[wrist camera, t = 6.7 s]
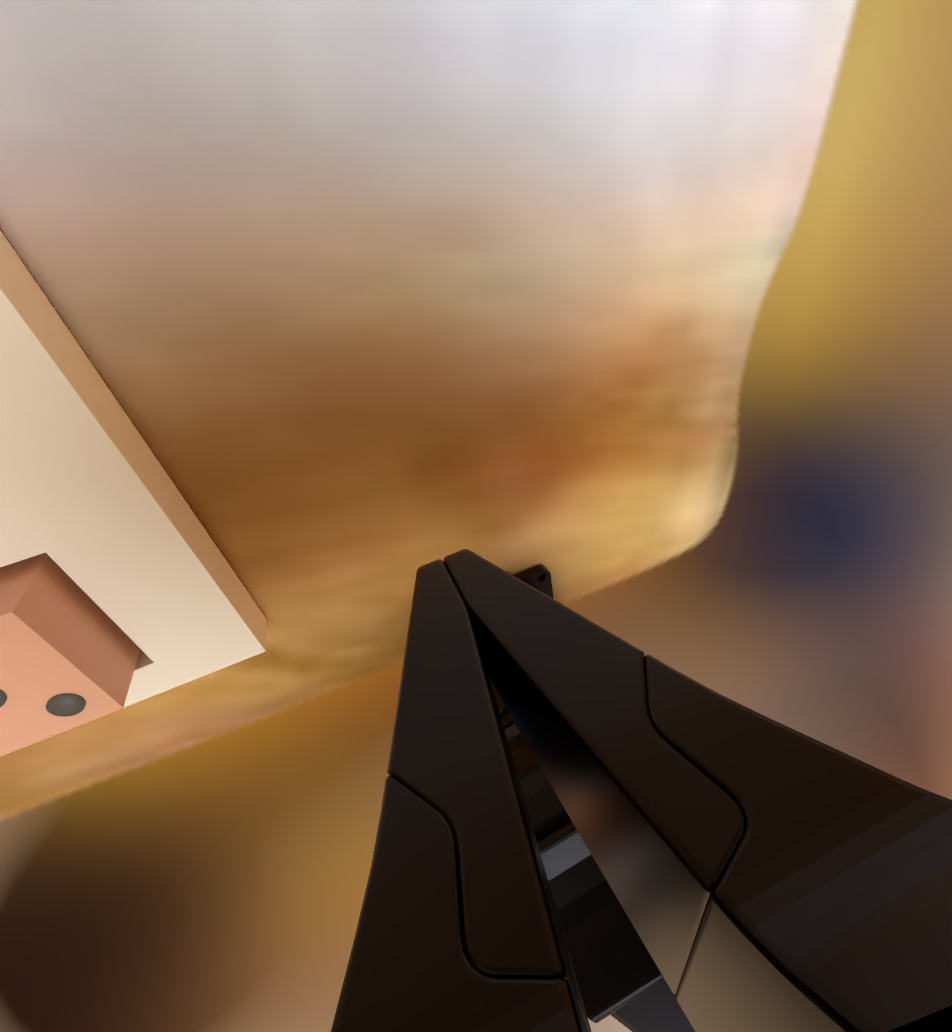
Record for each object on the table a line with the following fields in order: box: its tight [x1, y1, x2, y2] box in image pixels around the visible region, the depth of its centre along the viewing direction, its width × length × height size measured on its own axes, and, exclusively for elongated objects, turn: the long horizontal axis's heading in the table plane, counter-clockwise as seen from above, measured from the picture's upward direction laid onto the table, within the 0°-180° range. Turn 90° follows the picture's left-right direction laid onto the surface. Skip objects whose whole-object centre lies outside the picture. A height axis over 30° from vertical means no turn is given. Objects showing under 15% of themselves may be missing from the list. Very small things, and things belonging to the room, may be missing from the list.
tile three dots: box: [0, 552, 141, 756], centre depth 16 cm, size 5×5×4 cm
